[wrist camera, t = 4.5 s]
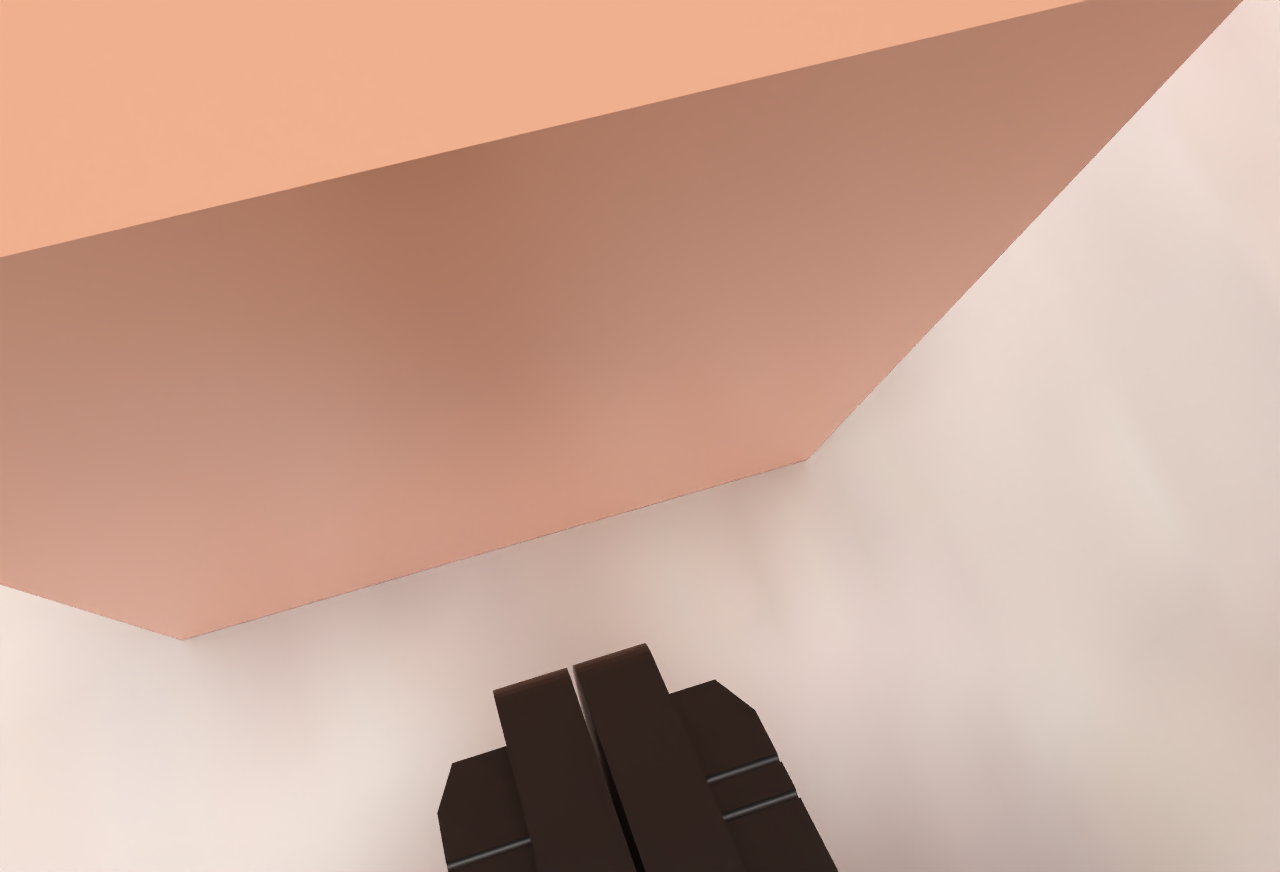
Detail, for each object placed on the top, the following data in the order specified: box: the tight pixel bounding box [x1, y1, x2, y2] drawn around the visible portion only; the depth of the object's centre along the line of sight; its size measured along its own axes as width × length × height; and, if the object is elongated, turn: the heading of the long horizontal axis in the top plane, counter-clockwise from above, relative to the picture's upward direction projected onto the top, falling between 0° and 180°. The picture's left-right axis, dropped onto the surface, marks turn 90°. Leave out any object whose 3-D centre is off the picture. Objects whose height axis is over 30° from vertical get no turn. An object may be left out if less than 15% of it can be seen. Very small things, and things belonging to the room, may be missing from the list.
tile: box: [0, 0, 1243, 640], centre depth 13 cm, size 10×2×13 cm, turn 107°
